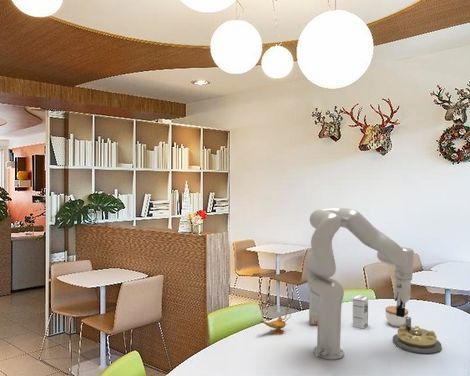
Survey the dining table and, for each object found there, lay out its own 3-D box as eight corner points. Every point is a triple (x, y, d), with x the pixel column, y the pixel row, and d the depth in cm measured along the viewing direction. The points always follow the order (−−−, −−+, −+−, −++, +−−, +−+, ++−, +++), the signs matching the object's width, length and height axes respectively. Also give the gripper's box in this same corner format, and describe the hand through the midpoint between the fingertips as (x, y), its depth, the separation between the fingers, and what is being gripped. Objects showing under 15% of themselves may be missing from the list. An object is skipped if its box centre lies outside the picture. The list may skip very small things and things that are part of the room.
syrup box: (363, 329, 213) (364, 299, 213) (352, 326, 217) (352, 297, 216) (367, 325, 218) (368, 297, 217) (356, 323, 221) (357, 294, 221)
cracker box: (336, 322, 222) (337, 281, 221) (338, 326, 216) (339, 284, 215) (308, 321, 224) (309, 280, 223) (309, 325, 218) (310, 283, 217)
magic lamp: (255, 333, 206) (255, 310, 206) (285, 326, 216) (286, 304, 215) (264, 338, 201) (264, 314, 200) (294, 331, 210) (295, 308, 209)
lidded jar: (409, 329, 214) (410, 310, 213) (386, 327, 216) (387, 308, 215) (405, 321, 224) (406, 303, 224) (383, 320, 226) (384, 302, 226)
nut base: (436, 358, 182) (436, 354, 182) (387, 346, 193) (387, 342, 193) (445, 342, 198) (445, 338, 198) (399, 332, 210) (399, 329, 209)
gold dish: (396, 344, 191) (397, 326, 191) (398, 331, 206) (398, 314, 206) (436, 350, 185) (437, 331, 185) (435, 337, 200) (436, 319, 199)
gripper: (407, 279, 187) (404, 322, 188) (416, 274, 200) (413, 314, 200) (389, 276, 192) (386, 318, 192) (398, 271, 204) (396, 310, 205)
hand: (400, 316), depth 196 cm, fingers closed
